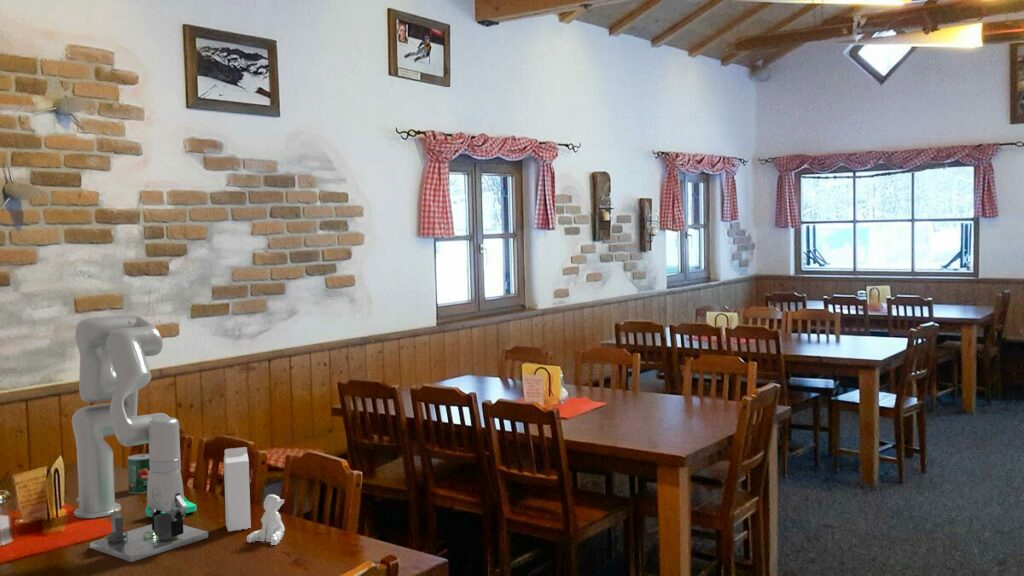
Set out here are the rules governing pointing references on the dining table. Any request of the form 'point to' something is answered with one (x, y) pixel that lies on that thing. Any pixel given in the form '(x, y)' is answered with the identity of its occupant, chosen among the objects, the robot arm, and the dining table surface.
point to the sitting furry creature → (270, 522)
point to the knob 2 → (163, 526)
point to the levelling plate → (146, 543)
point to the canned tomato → (138, 473)
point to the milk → (237, 489)
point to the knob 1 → (117, 528)
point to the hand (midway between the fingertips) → (167, 531)
